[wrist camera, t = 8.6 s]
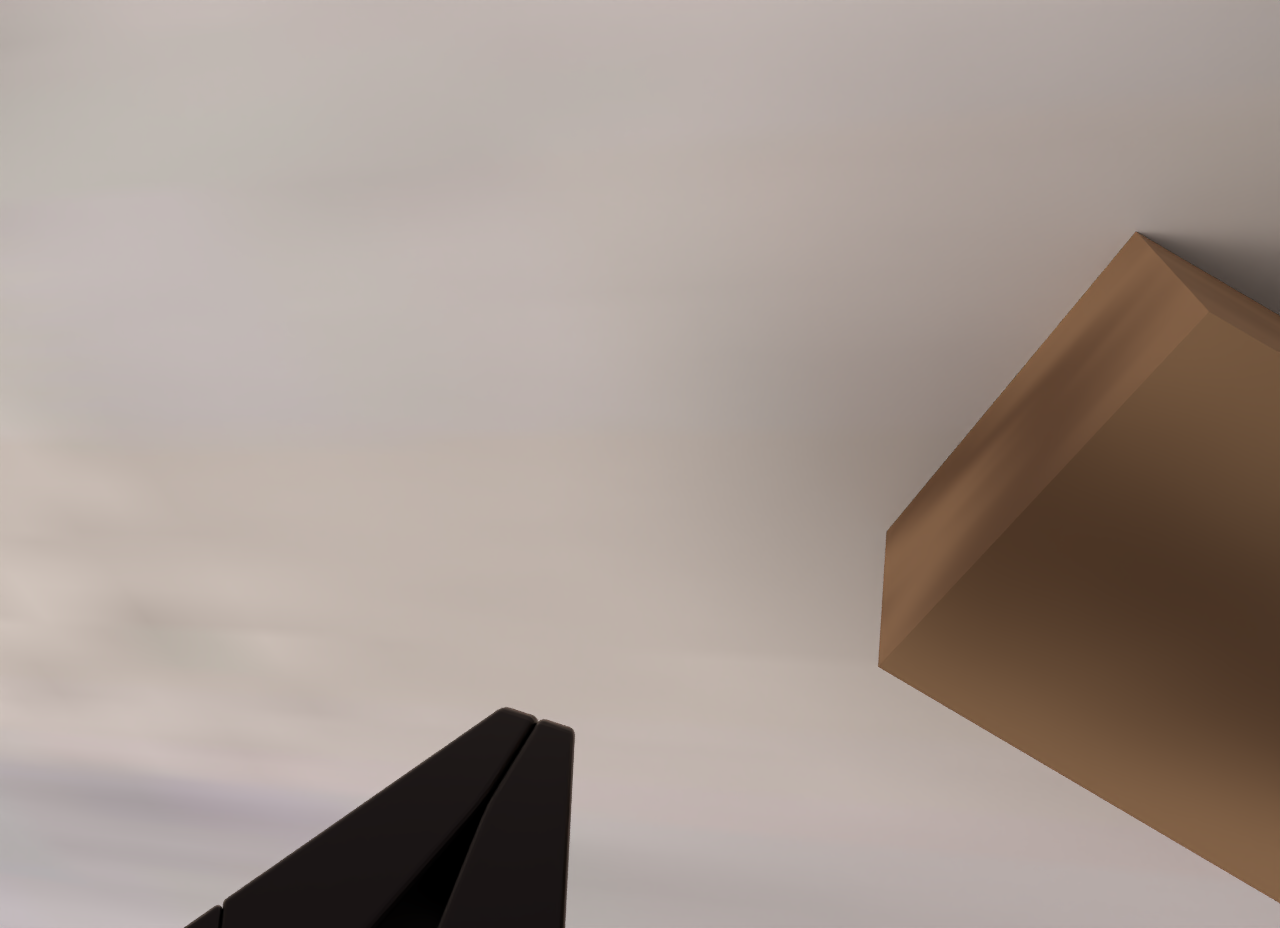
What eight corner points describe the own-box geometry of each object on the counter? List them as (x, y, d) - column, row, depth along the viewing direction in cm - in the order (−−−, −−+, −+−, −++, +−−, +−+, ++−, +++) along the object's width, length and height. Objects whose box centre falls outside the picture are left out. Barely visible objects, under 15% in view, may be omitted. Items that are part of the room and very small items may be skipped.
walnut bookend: (1264, 747, 18) (1356, 948, 14) (886, 525, 18) (878, 666, 14) (1607, 506, 14) (1854, 689, 11) (1132, 228, 14) (1208, 311, 11)
